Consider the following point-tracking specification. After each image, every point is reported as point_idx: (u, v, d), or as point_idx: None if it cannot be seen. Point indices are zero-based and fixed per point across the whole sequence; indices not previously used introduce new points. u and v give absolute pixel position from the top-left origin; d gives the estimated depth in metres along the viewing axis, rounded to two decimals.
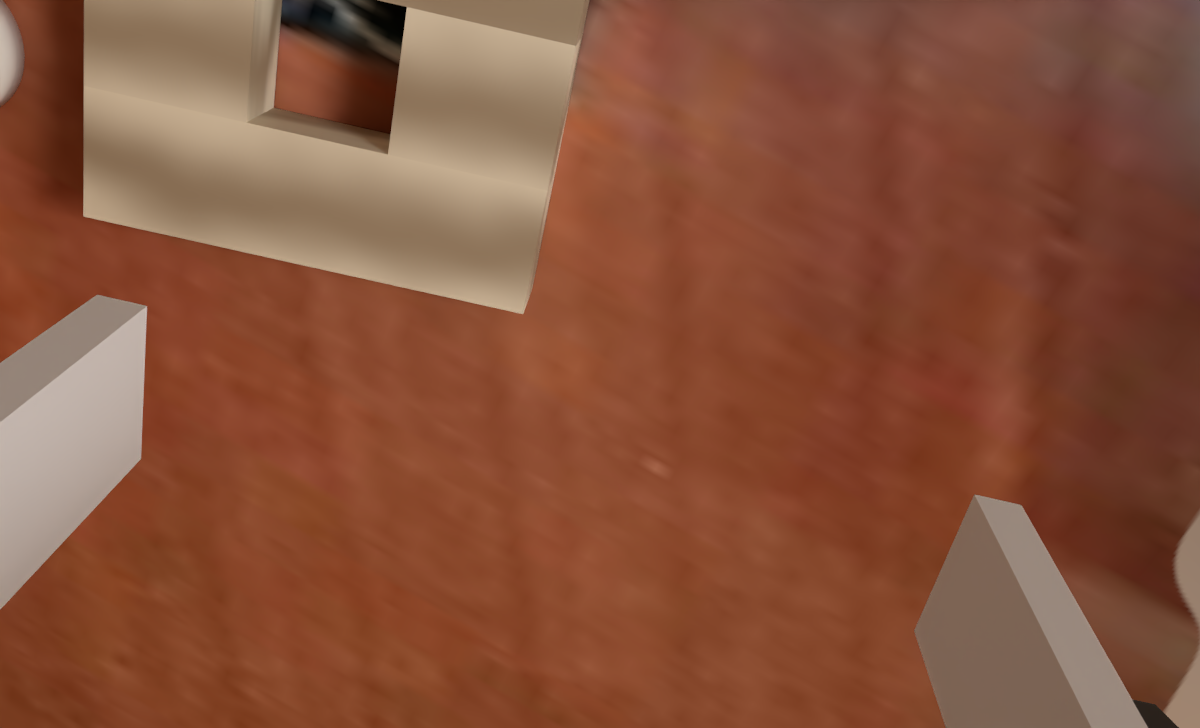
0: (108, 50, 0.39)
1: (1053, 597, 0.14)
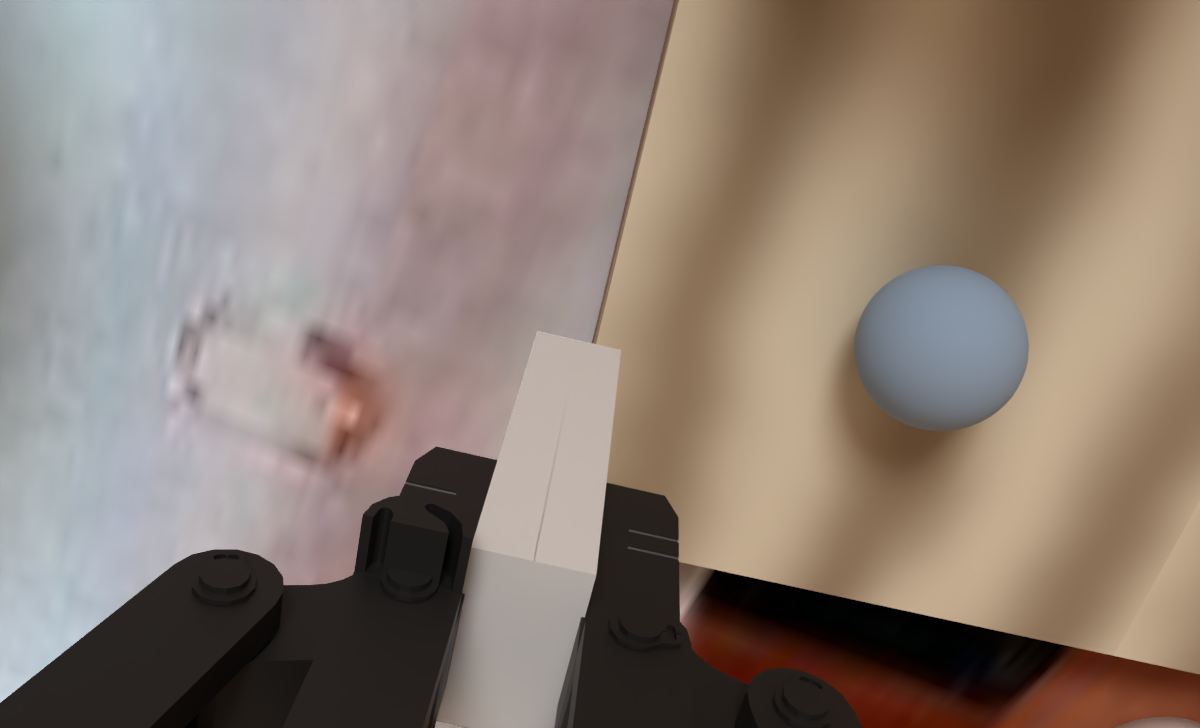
0: None
1: (593, 409, 0.16)
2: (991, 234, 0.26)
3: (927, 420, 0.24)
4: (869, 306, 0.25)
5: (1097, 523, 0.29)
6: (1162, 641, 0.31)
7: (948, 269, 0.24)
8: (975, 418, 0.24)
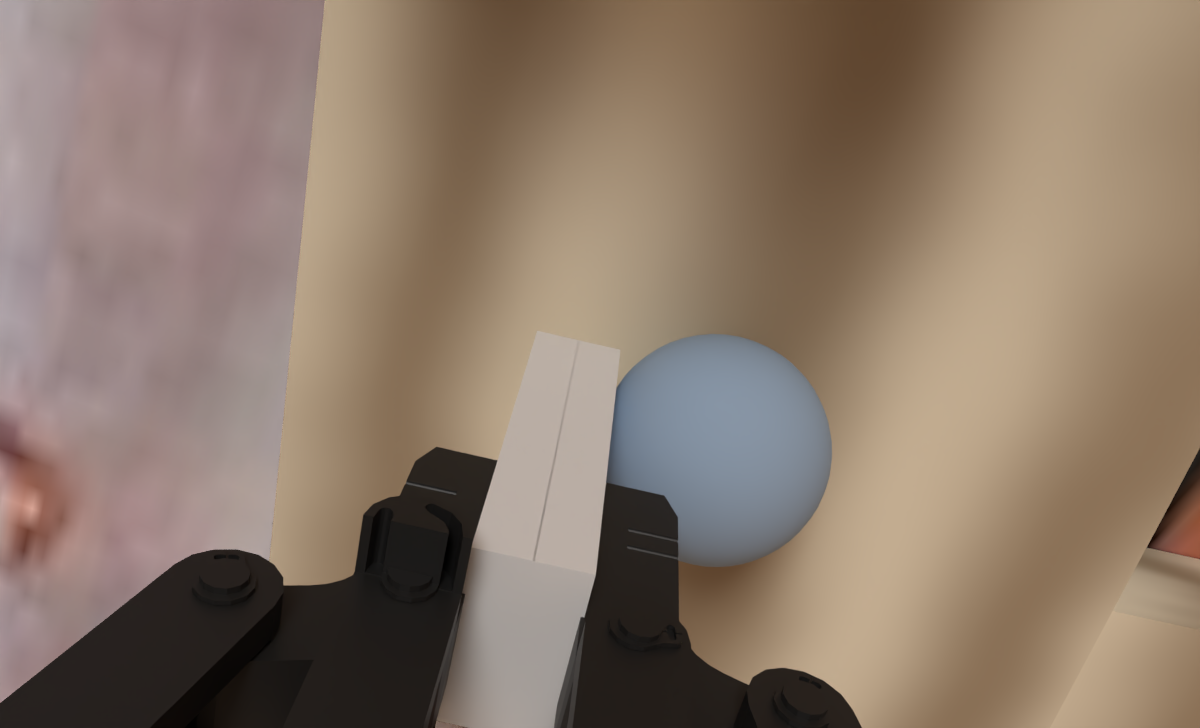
0: None
1: (592, 409, 0.16)
2: (795, 288, 0.19)
3: (685, 556, 0.17)
4: None
5: (966, 662, 0.22)
6: None
7: (716, 342, 0.17)
8: (752, 555, 0.17)
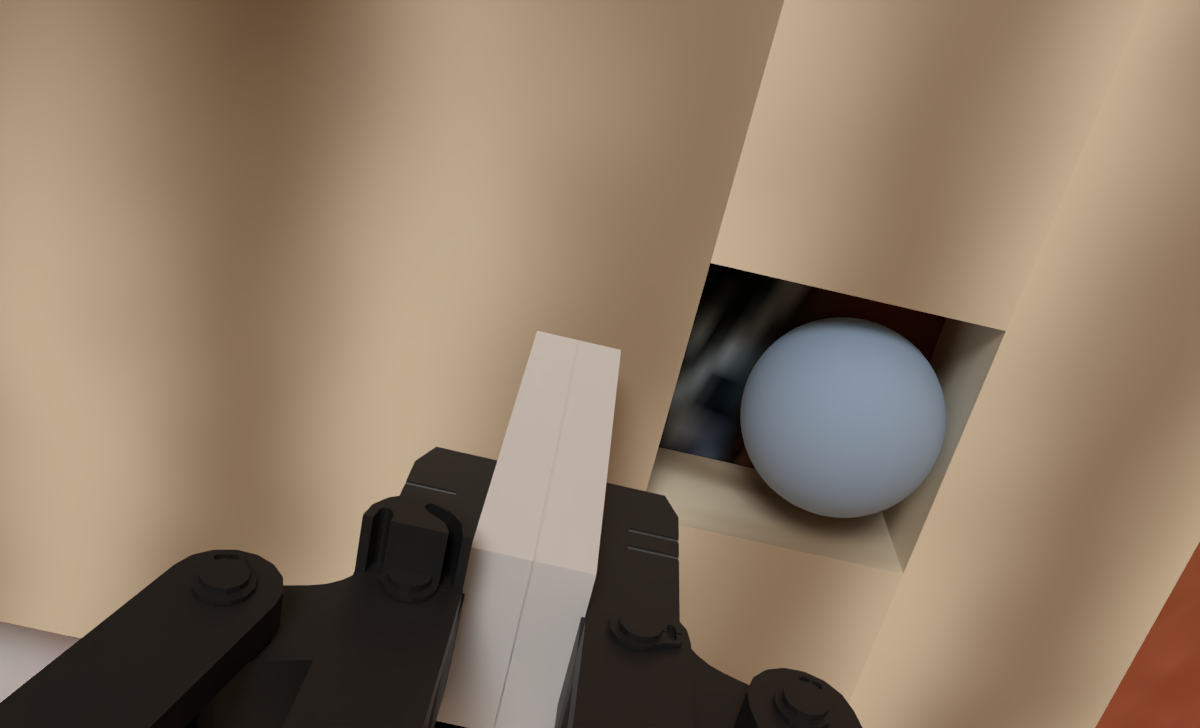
0: None
1: (593, 409, 0.16)
2: (250, 169, 0.18)
3: (872, 512, 0.20)
4: (776, 399, 0.20)
5: None
6: None
7: (853, 331, 0.20)
8: None
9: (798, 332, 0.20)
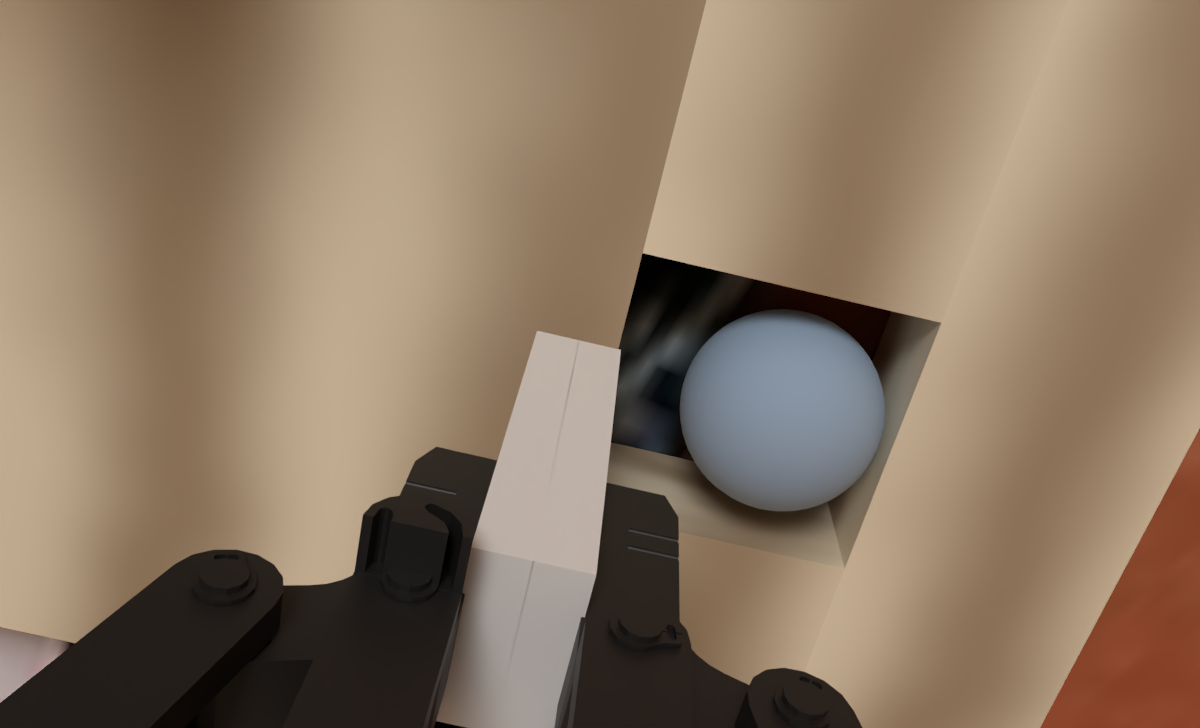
0: None
1: (593, 409, 0.16)
2: (177, 158, 0.18)
3: (810, 506, 0.20)
4: (711, 390, 0.19)
5: None
6: None
7: (790, 322, 0.20)
8: None
9: (736, 324, 0.20)
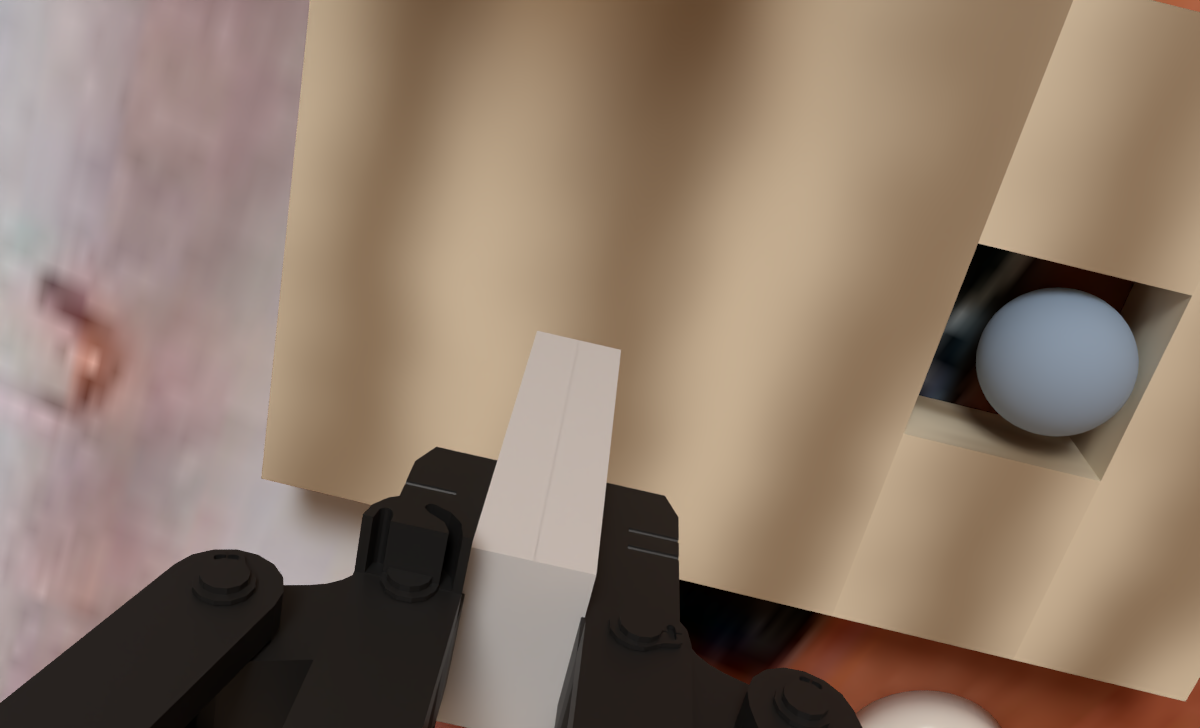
0: (974, 622, 0.30)
1: (593, 409, 0.16)
2: (650, 173, 0.26)
3: (1081, 431, 0.27)
4: (1015, 344, 0.27)
5: (796, 475, 0.29)
6: (879, 602, 0.30)
7: (1071, 295, 0.27)
8: (1110, 416, 0.28)
9: (1026, 297, 0.28)
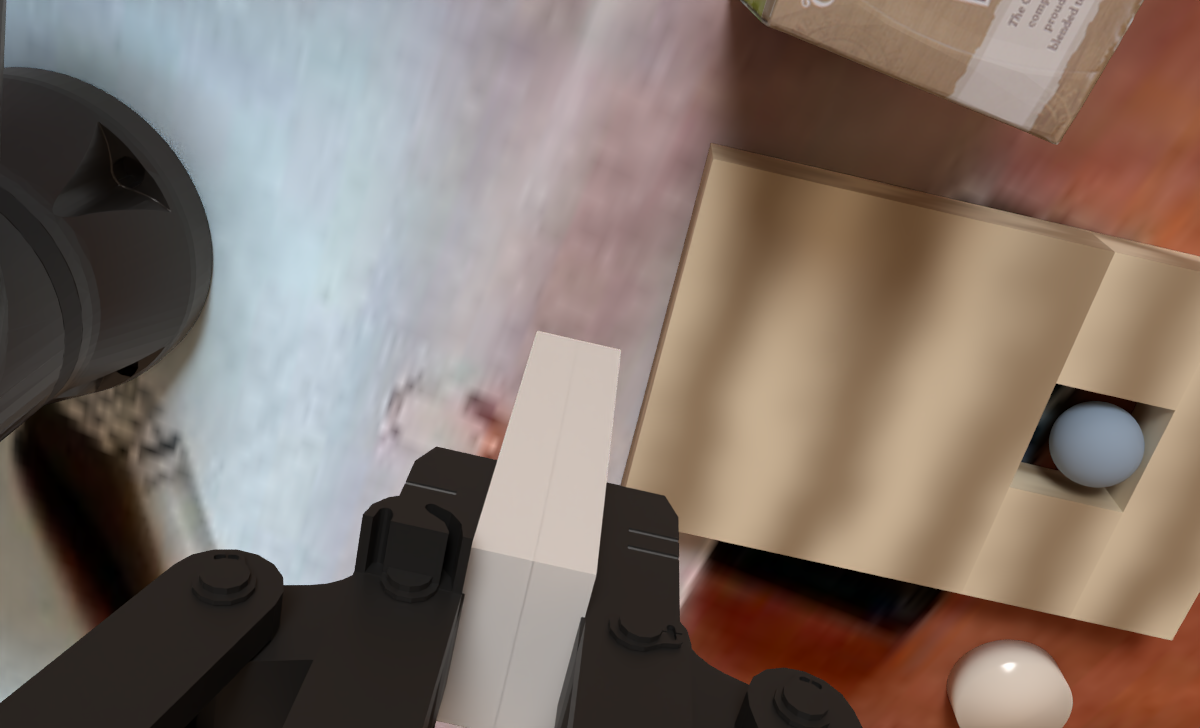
0: (1046, 596, 0.51)
1: (593, 409, 0.16)
2: (872, 346, 0.46)
3: (1112, 485, 0.48)
4: (1074, 436, 0.47)
5: (945, 512, 0.49)
6: (990, 585, 0.51)
7: (1106, 408, 0.47)
8: None
9: (1080, 408, 0.48)
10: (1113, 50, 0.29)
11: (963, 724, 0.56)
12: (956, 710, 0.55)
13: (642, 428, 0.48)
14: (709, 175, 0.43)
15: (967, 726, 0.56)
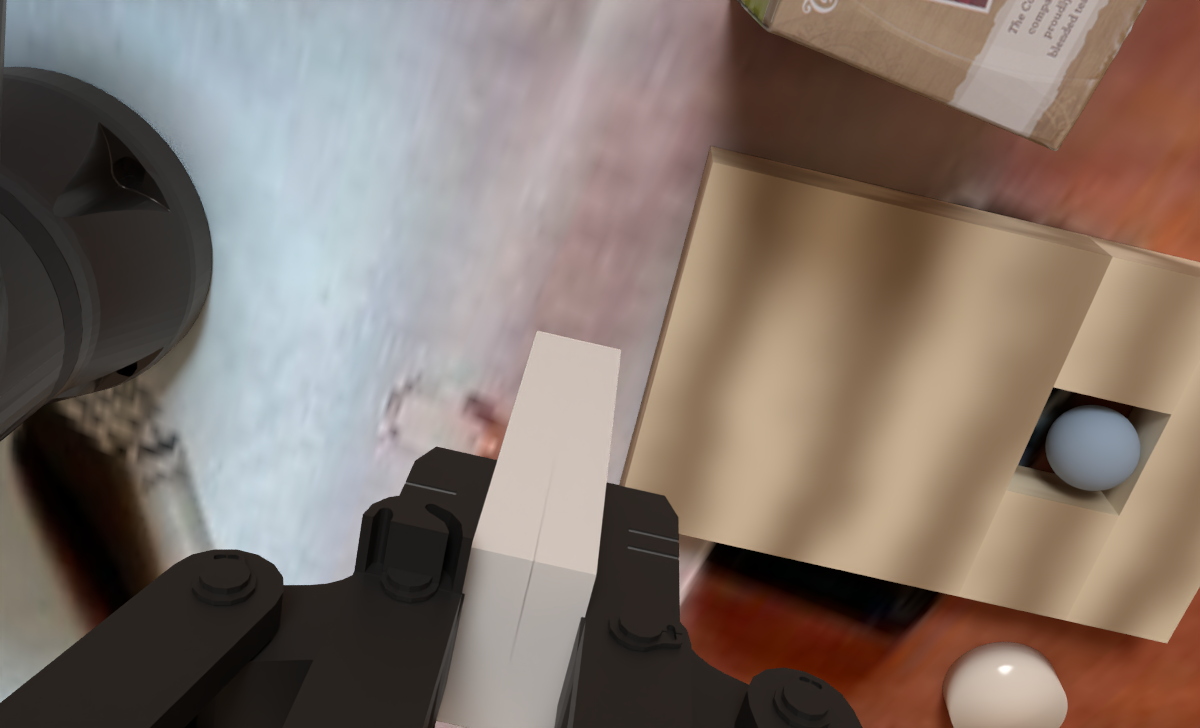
0: (1042, 598, 0.51)
1: (593, 409, 0.16)
2: (870, 350, 0.46)
3: (1108, 488, 0.48)
4: (1070, 440, 0.47)
5: (942, 514, 0.49)
6: (986, 587, 0.51)
7: (1102, 412, 0.47)
8: (1123, 479, 0.48)
9: (1076, 411, 0.48)
10: (1112, 57, 0.30)
11: None
12: (950, 715, 0.56)
13: (641, 430, 0.48)
14: (709, 178, 0.43)
15: None
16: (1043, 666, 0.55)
